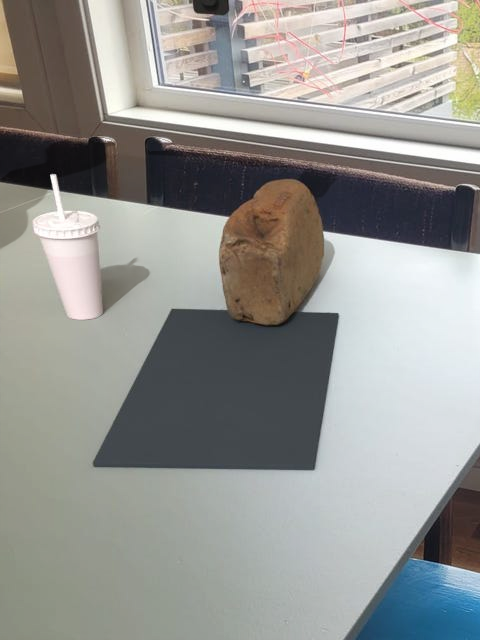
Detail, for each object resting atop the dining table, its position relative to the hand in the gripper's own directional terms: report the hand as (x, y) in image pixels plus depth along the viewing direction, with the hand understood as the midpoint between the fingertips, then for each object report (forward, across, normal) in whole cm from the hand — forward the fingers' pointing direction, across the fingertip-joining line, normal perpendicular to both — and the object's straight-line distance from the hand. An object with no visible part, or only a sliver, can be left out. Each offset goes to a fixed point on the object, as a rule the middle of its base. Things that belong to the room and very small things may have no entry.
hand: (211, 12), depth 97 cm
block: (+22, -7, +6) cm, 24 cm away
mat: (+27, +24, +3) cm, 37 cm away
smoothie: (+28, +8, -15) cm, 32 cm away
